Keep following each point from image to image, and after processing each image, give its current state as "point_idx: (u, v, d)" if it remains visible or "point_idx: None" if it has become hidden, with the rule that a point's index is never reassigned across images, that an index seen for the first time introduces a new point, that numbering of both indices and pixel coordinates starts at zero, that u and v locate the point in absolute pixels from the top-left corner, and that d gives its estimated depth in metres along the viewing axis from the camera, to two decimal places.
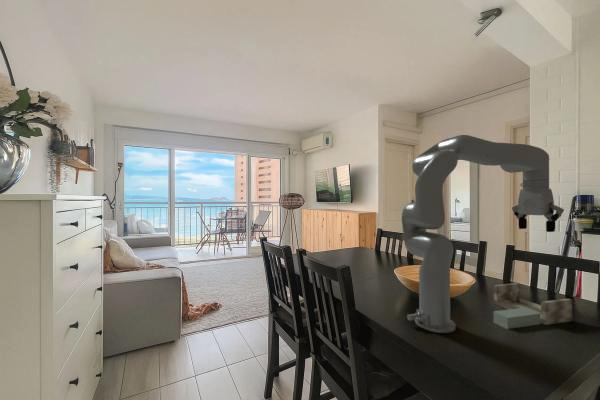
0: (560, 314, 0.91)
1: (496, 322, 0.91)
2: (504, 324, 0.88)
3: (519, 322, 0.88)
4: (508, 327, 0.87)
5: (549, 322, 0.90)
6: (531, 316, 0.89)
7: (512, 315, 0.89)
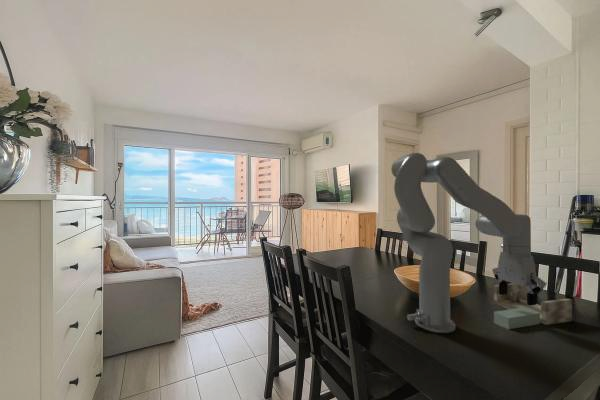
0: (560, 314, 0.91)
1: (497, 322, 0.91)
2: (505, 325, 0.88)
3: (519, 322, 0.88)
4: (509, 327, 0.87)
5: (549, 322, 0.90)
6: (530, 316, 0.90)
7: (513, 316, 0.88)
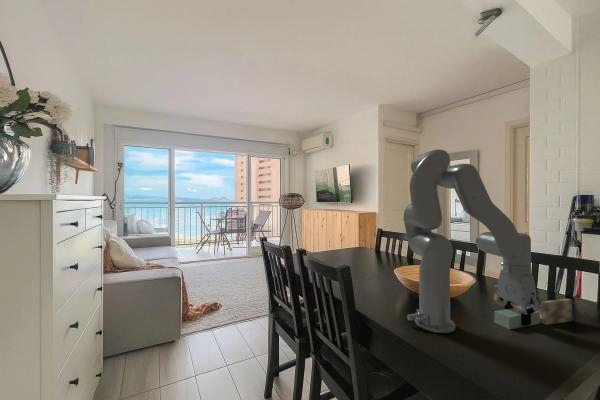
0: (560, 314, 0.91)
1: (497, 322, 0.91)
2: (505, 324, 0.88)
3: (520, 321, 0.88)
4: (510, 327, 0.87)
5: (549, 322, 0.90)
6: (531, 315, 0.90)
7: (513, 315, 0.88)
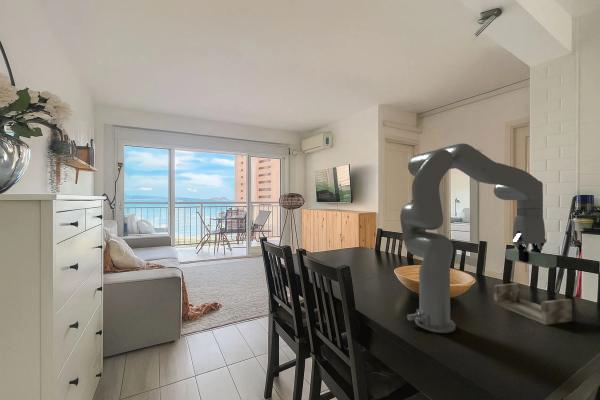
0: (560, 314, 0.91)
1: None
2: None
3: None
4: (506, 257, 1.06)
5: (549, 322, 0.90)
6: (533, 256, 0.96)
7: (514, 250, 1.03)
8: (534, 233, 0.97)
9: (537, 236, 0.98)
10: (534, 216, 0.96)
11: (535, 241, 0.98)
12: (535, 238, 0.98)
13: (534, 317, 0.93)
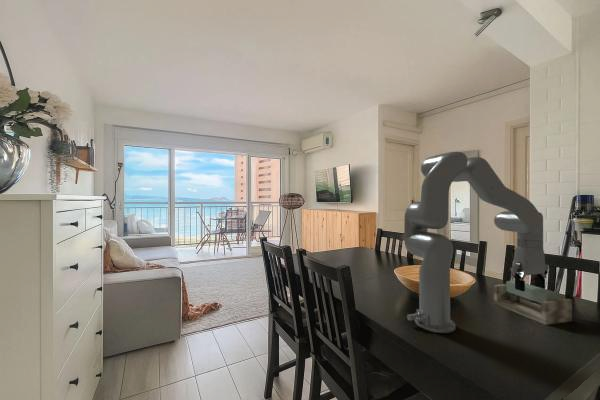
0: (560, 314, 0.91)
1: None
2: None
3: (519, 290, 1.02)
4: (507, 289, 1.06)
5: (549, 322, 0.90)
6: (532, 291, 0.97)
7: None
8: (534, 265, 0.97)
9: (537, 268, 0.98)
10: (534, 248, 0.96)
11: (535, 272, 0.98)
12: (535, 270, 0.98)
13: (534, 317, 0.93)
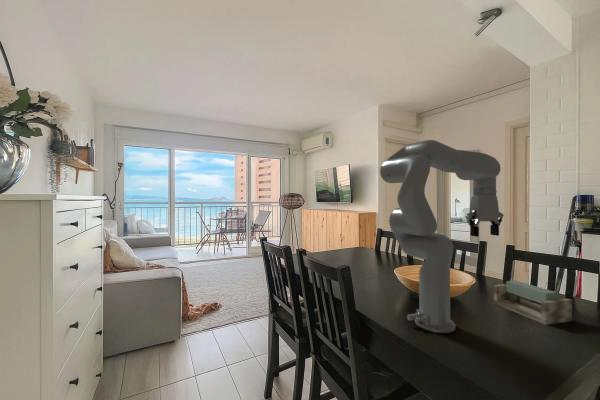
0: (560, 314, 0.91)
1: None
2: None
3: (519, 290, 1.02)
4: (507, 289, 1.06)
5: (549, 322, 0.90)
6: (532, 291, 0.97)
7: (515, 283, 1.04)
8: (488, 211, 1.03)
9: (491, 214, 1.03)
10: (487, 195, 1.02)
11: (489, 219, 1.03)
12: (489, 216, 1.03)
13: (534, 317, 0.93)
